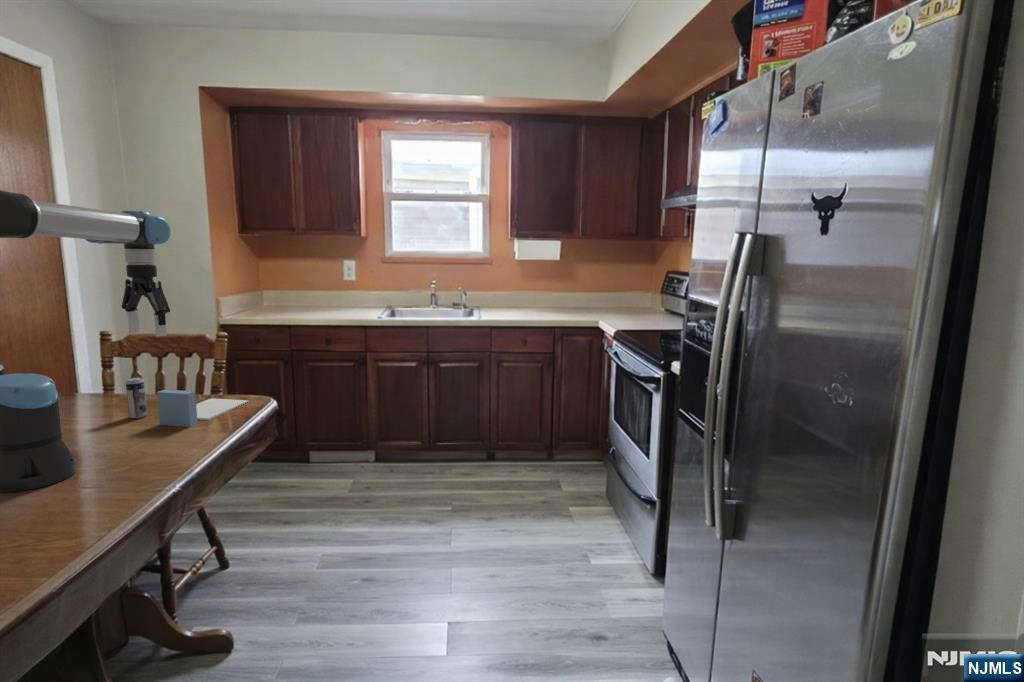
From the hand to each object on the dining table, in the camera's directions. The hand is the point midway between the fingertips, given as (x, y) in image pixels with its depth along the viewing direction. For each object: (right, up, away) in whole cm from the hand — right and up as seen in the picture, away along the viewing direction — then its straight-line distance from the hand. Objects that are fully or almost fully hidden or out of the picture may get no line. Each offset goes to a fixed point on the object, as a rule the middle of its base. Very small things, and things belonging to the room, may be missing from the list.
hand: (147, 334), depth 168 cm
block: (+12, -27, -5) cm, 30 cm away
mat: (+13, -24, +10) cm, 30 cm away
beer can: (-4, -26, +2) cm, 26 cm away
